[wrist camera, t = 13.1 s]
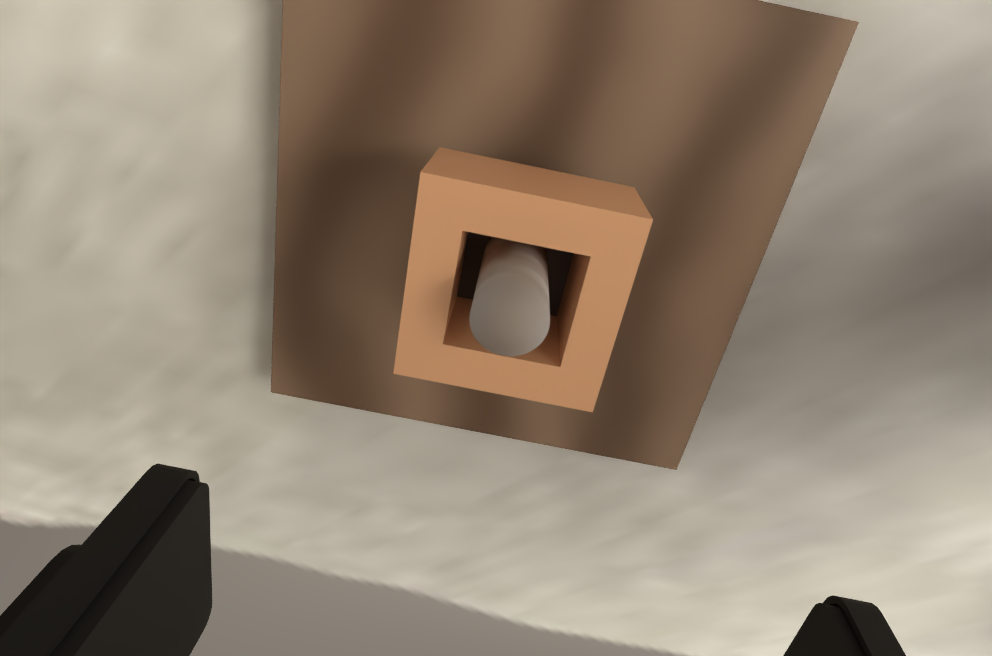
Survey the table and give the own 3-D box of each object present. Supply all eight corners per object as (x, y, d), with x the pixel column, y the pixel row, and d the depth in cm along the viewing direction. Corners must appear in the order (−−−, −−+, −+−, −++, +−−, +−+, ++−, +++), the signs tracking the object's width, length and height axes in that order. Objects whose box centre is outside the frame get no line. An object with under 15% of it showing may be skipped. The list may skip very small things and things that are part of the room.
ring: (634, 187, 22) (653, 219, 18) (584, 356, 25) (592, 412, 22) (439, 147, 22) (420, 171, 18) (414, 323, 25) (393, 373, 21)
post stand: (839, 22, 23) (1018, 23, 14) (670, 450, 32) (719, 608, 23) (301, -95, 22) (154, -166, 14) (282, 376, 31) (186, 509, 23)
